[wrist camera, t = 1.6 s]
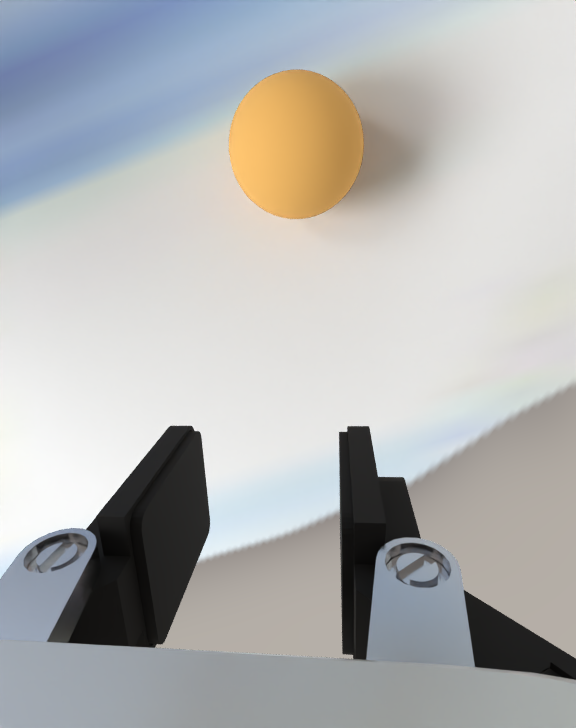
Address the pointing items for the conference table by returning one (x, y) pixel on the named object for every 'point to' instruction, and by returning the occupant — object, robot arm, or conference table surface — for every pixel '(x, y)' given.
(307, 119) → the ball
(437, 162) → the conference table surface
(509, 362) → the conference table surface
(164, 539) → the robot arm
